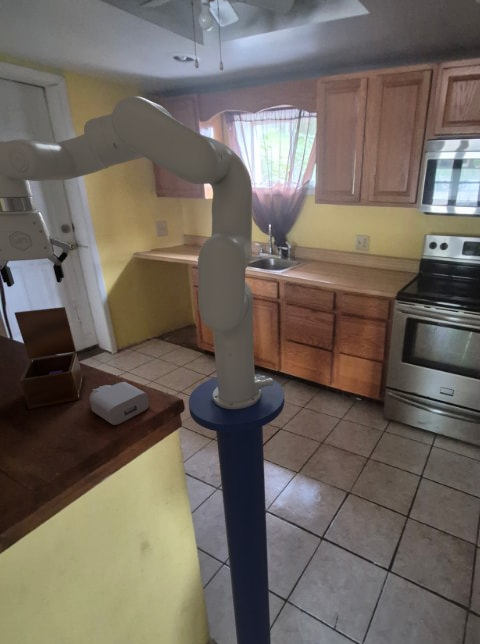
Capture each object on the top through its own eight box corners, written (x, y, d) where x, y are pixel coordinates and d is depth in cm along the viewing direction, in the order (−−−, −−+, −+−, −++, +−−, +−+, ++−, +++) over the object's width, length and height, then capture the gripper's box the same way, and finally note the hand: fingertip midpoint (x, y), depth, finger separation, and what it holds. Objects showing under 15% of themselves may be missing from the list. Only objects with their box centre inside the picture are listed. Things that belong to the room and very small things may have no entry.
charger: (115, 388, 97) (149, 408, 89) (79, 404, 90) (113, 427, 82) (112, 372, 95) (146, 391, 87) (75, 387, 88) (108, 409, 81)
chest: (79, 399, 92) (71, 372, 89) (28, 409, 88) (19, 380, 85) (83, 378, 102) (76, 352, 99) (37, 385, 98) (29, 359, 95)
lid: (64, 307, 94) (66, 302, 97) (14, 313, 90) (18, 307, 93) (75, 351, 99) (77, 345, 102) (28, 358, 95) (32, 351, 98)
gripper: (-43, 208, 73) (-15, 291, 80) (58, 206, 80) (76, 283, 86) (-30, 205, 79) (-5, 283, 86) (62, 203, 86) (79, 276, 93)
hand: (36, 283), depth 86 cm, fingers open, 9 cm apart
